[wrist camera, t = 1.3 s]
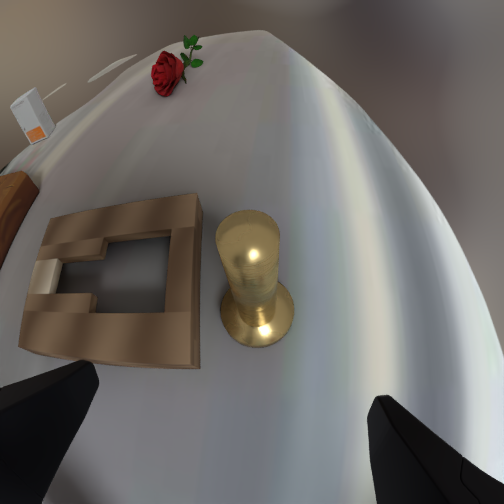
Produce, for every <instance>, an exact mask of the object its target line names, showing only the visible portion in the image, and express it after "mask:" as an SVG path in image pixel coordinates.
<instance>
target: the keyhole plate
mask: <svg viewBox="0 0 504 504" xmlns="http://www.w3.org/2000/svg"><path fill="white" fill-rule="evenodd" d="M202 220H203V211H202V208H201V204H200V201H199V198H198V195H197V193H194V194H186V195H178V196H171V197H164V198H157V199H150V200H144V201H138V202H132V203H126V204H120V205H114V206H109V207H103V208H98V209H93V210H88V211H83V212H78V213H73V214H69V215H64V216H60V217H55V218H51V219H50V221H49V224H48V227H47V229H46V232H45V235H44V238H43V241H42V244H41V247H40V250H39V253H38V256H37V259H36V263H35V266H34V270H33V273H32V277H31V281H30V285H29V289H28V293H27V298H26V302H25V307H24V312H23V318H22V324H21V330H20V337H19V344H18V347H20V348H22V349H25V350H27V351H30V352H32V353H35V354H38V355H43V356H49V357H54V358H60V359H66V360H73V361H78V360H81V359H84V360H87V361H90V362H92V363H95V364H104V365H115V366H127V367H141V368H164V369H200V270H201V241H202ZM164 236H171V240H170V249H169V259H168V270H167V282H166V295H165V311H164V313H95V312H96V305H97V298H98V297H96V296H95V295H94V294H92V293H67V294H56V290H57V285H58V281H59V277H60V273H61V269H62V265H63V263H72V262H82V261H92V260H103V259H105V256H106V251H107V247H108V243H112V242H120V241H128V240H137V239H146V238H155V237H164Z"/></svg>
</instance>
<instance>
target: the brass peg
mask: <svg viewBox="0 0 504 504" xmlns="http://www.w3.org/2000/svg"><path fill="white" fill-rule="evenodd" d="M215 240H216V245H217V248H218V251H219V254H220V258H221V261H222V264H223V267H224V270H225V273H226V276H227V279H228V282H229V285H230V289H229V290H228V291H227V292H226V294H225V296H224V298H223V300H222V304H221V319H222V322H223V325H224V327H225V329H226V330H227V332H228V333H229V335H230V336H231V337H232V338H233V339H234V340H235V341H237V342H238V343H240V344H242V345H244V346H248V347H252V348H262V347H267V346H270V345H273V344H275V343H277V342H278V341H280V340H281V339H282V338H283V337H284V336H285V335H286V334H287V332H288V331H289V329H290V327H291V324H292V321H293V317H294V304H293V300H292V297H291V295H290V293H289V292H288V291H287V289H286V288H285V287H284V286H283V285H282V284H280V283H279V282H277V280H278V261H279V241H280V233H279V228H278V226H277V224H276V222H275V221H274V220H273V219H272V218H271V217H270V216H268V215H267V214H265V213H263V212H260V211H256V210H242V211H238V212H235V213H233V214H231V215H229V216H228V217H226V218H225V219H224V220H223V221H222V222H221V223H220V225H219V226H218V228H217V231H216V236H215Z"/></svg>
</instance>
